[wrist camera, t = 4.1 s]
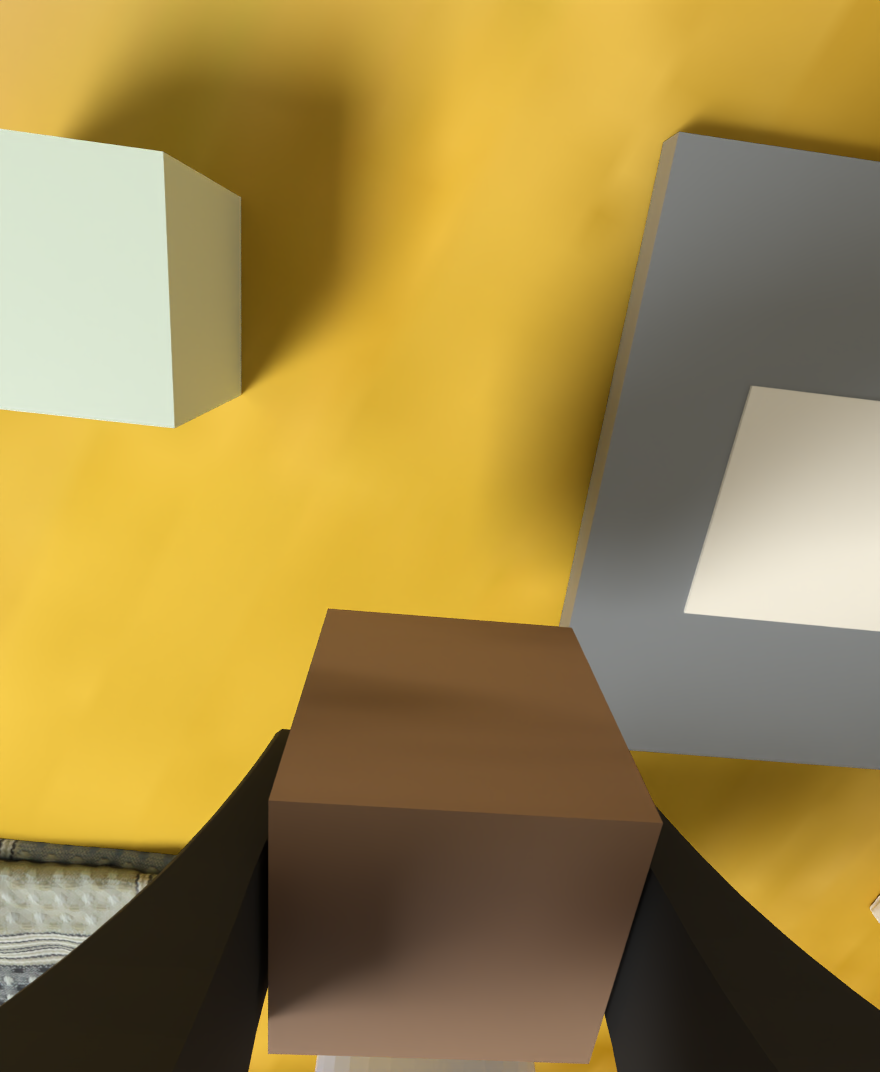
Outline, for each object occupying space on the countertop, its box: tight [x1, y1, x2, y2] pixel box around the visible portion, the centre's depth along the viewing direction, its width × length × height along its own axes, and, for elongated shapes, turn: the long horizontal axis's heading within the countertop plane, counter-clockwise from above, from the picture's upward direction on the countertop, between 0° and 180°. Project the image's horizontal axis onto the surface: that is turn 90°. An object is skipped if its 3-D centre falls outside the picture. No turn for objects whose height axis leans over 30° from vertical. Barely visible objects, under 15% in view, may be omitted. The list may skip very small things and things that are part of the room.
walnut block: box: [268, 609, 663, 1064], centre depth 11 cm, size 5×5×5 cm
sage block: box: [0, 129, 241, 428], centre depth 14 cm, size 5×5×5 cm
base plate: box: [559, 132, 880, 770], centre depth 18 cm, size 18×14×1 cm
